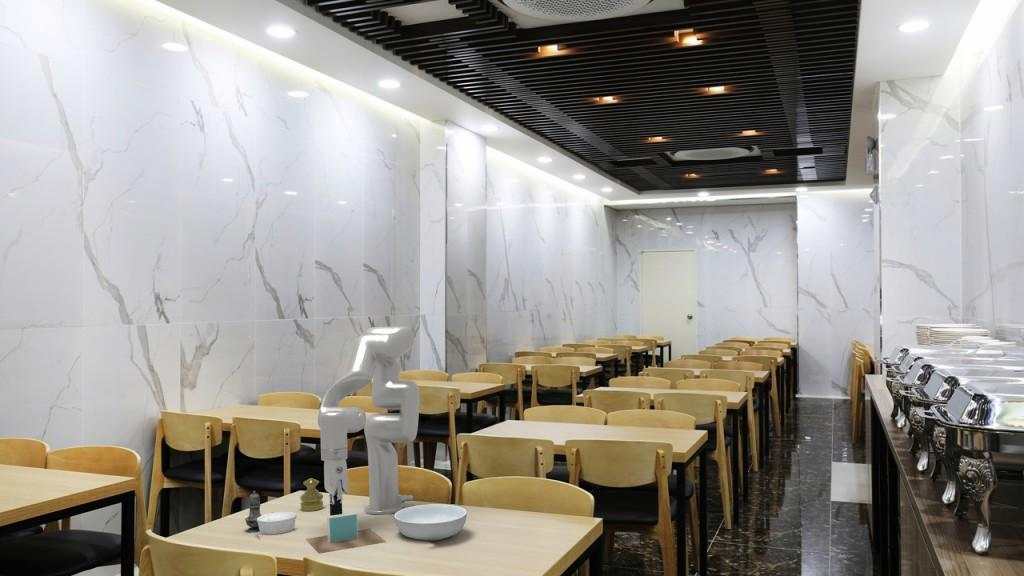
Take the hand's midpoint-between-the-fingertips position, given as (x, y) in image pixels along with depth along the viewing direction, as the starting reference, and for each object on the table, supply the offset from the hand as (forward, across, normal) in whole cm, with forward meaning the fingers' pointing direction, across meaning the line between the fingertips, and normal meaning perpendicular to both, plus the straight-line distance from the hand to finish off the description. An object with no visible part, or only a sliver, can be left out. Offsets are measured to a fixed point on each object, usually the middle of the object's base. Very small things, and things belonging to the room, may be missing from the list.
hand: (336, 517), depth 235 cm
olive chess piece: (+6, +40, -2) cm, 40 cm away
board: (+6, -8, -1) cm, 10 cm away
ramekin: (+6, +16, +14) cm, 22 cm away
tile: (+5, -6, 0) cm, 8 cm away
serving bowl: (+6, -13, -24) cm, 28 cm away
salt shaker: (+6, +24, +19) cm, 31 cm away
